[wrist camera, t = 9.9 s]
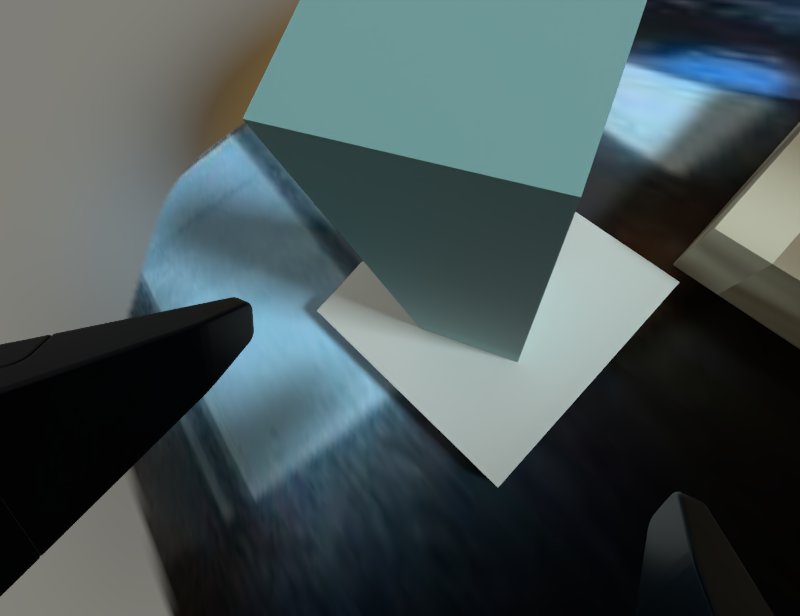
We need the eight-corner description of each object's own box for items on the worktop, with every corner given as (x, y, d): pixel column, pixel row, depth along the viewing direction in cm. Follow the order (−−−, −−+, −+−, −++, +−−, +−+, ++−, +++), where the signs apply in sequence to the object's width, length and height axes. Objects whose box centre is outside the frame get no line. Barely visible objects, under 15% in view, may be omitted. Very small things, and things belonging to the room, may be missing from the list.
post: (517, 362, 17) (581, 197, 4) (420, 328, 18) (242, 119, 5) (550, 266, 17) (688, -125, 5) (453, 239, 18) (365, -135, 6)
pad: (497, 483, 17) (497, 487, 16) (326, 316, 20) (316, 310, 19) (667, 291, 17) (679, 282, 16) (473, 157, 20) (472, 142, 19)
